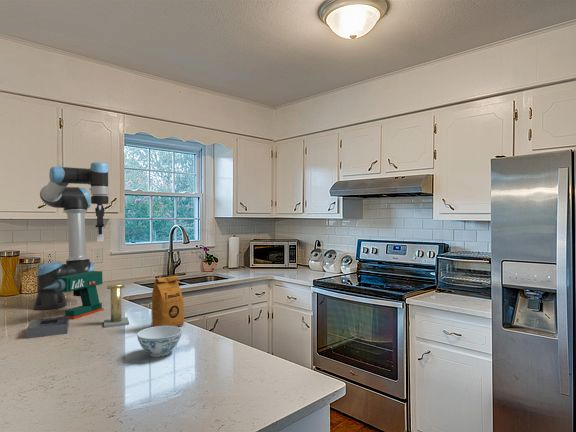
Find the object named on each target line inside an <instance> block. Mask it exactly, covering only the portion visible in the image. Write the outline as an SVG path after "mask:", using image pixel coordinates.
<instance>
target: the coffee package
mask: <svg viewBox="0 0 576 432" xmlns="http://www.w3.org/2000/svg"><path fill="white" fill-rule="evenodd" d="M178 280H179V276H178V275H172V276H166V277H165V276H164V277H158V278H155V280H154V284H153V287H152V293H151V294H152V295H151V323H152V325H151V326H152V327H156V326H176V327H181V326H184V323H185V313H184V312H185V311H184V310H185V309H184V307H185V306H184V297H183V293H182V291H181V287H180V285H179V282H178Z"/></svg>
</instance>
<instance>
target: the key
mask: <svg viewBox="0 0 576 432" xmlns="http://www.w3.org/2000/svg"><path fill="white" fill-rule="evenodd" d="M106 288H107V290H110V319H111V322H120V321H122V318H123V317H122V289H125V284H124V283H123V284H122V283H120V284H111V285H109V284H108V285H107V287H106Z"/></svg>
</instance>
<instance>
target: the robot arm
mask: <svg viewBox="0 0 576 432" xmlns="http://www.w3.org/2000/svg"><path fill="white" fill-rule="evenodd" d="M48 176H49V182H48V183H47V184H46V185H44V186H43V187H42V188H41V190H40V192H39V197H40V200H41V201H42V202H43V203H44V204H45V205H47V206H49V207H52V208H55V209H63V212H64V213H65V214H66V215H67V236H68V258H67V259H66V260H65V263H63V261H54V262H53V261H52V262H47V263H43V264H41V265H39V266H38V267H37V269H36V281H37V284H36V285H37V294H36V296H35V299H34V303H33V309H34V310H35V311H36V310H37V311H48V310H55V309H60V308H64V307H66V306H67V305H68V302H67V298H66V296H65V292H56V291H55V290H54V289H43V288H45V287H47V286H50V285H52V284H53V282H54V281H55V280H56V277H62V276H67V275H72V274H78V273H83V272H89V271H95V268H94V267H95V266H94V262H92V261H91V260H90V258H89V257H88V256H87V239H86V238H87V237H86V217H85V214H86V213H87V212H88V209H89V208H90V207H91V204H92V205H96V207H95V208H94V211H95V216H96V224H95V228H96V241H97V242H105V241H104V240H105V239H104V237H105V235H104V229H105V224H104V216H105V207H104V205H108V204H109V196H108V195H110V194H109V193H110V192H109V165H108V163H106V162H99V161H98V162H94V161H93V162H91V163H90V167H89V168H83V167H67V166H66V167H65V166H51V167H50V169H49V174H48ZM69 184H75V185H76V184H77V185H78V184H79V185H89V186H90V188H89V190H88V189H87V188H85V187H78V186H77V187H76V186H68V185H69ZM89 191H90V192H89ZM90 195H91V196H90Z"/></svg>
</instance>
